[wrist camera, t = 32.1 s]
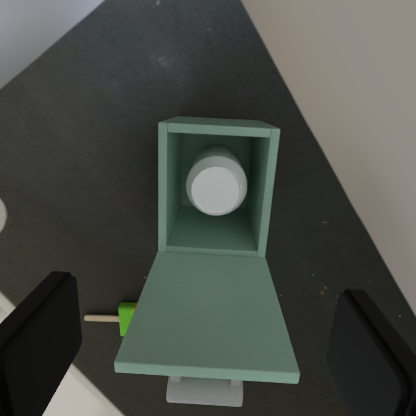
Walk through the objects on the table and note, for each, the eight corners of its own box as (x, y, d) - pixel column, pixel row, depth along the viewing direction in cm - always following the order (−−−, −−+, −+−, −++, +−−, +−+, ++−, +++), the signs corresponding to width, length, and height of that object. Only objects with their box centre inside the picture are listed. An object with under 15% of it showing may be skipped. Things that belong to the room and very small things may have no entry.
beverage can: (187, 151, 40) (175, 169, 29) (233, 137, 40) (239, 151, 28) (201, 194, 42) (195, 228, 31) (245, 182, 42) (255, 212, 30)
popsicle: (179, 330, 51) (178, 339, 49) (88, 327, 51) (84, 336, 49) (178, 302, 49) (177, 309, 47) (85, 299, 49) (79, 306, 48)
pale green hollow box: (177, 116, 40) (158, 122, 27) (259, 120, 40) (280, 128, 27) (175, 208, 44) (158, 253, 31) (250, 212, 44) (264, 259, 31)
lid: (113, 362, 18) (118, 426, 19) (300, 373, 17) (288, 437, 19) (157, 251, 30) (157, 296, 32) (265, 257, 30) (260, 302, 32)
